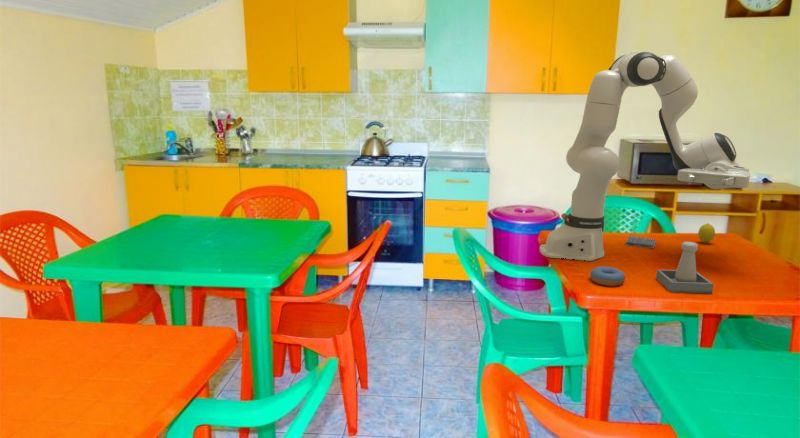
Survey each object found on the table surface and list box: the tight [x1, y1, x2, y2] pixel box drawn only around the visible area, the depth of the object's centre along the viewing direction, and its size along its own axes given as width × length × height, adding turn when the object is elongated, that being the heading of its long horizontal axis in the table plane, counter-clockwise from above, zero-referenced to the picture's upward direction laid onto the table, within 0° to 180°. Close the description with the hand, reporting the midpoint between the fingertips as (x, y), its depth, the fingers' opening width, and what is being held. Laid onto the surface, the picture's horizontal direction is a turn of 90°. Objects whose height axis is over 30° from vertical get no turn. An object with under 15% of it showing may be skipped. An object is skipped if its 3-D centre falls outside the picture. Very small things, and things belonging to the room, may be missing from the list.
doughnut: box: [589, 266, 626, 287], centre depth 166 cm, size 10×10×5 cm
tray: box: [655, 269, 714, 295], centre depth 162 cm, size 12×12×3 cm
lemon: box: [697, 222, 716, 244], centre depth 207 cm, size 6×6×8 cm
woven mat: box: [624, 235, 657, 250], centre depth 207 cm, size 10×11×2 cm
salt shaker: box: [675, 241, 699, 282], centre depth 161 cm, size 6×6×13 cm
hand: (707, 180), depth 169 cm, fingers open, 8 cm apart
